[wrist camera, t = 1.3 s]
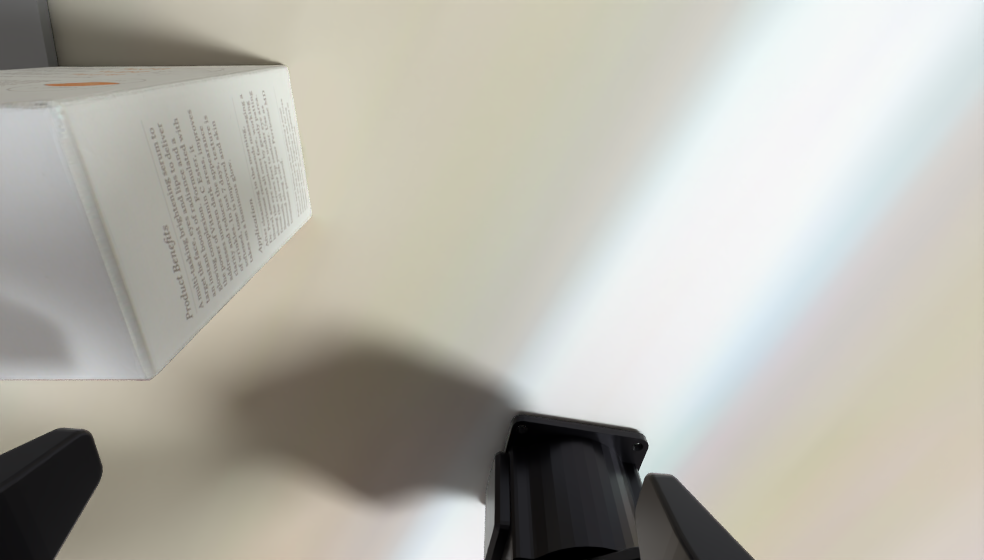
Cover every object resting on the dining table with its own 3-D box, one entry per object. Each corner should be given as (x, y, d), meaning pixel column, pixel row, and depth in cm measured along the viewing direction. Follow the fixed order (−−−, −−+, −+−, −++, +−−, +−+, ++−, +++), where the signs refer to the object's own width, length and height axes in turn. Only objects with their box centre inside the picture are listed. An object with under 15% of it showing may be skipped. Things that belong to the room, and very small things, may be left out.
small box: (113, 218, 20) (-235, 388, 10) (59, 62, 17) (-461, 100, 8) (318, 218, 20) (153, 392, 10) (293, 62, 17) (48, 101, 8)
